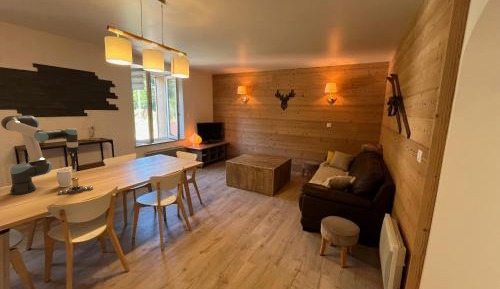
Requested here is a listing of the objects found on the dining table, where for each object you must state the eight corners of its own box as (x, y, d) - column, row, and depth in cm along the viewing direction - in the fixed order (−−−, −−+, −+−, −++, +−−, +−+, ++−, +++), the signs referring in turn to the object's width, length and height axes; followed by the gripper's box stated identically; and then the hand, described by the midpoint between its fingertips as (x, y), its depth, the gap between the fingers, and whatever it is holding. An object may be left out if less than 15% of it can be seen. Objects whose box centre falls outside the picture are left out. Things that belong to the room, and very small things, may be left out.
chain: (58, 192, 186) (58, 189, 185) (92, 187, 200) (92, 184, 200) (58, 195, 178) (57, 192, 178) (92, 190, 193) (92, 187, 192)
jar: (54, 188, 193) (53, 172, 191) (61, 184, 203) (60, 168, 200) (68, 187, 196) (67, 171, 194) (74, 183, 206) (73, 168, 203)
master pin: (72, 190, 190) (71, 177, 188) (79, 189, 193) (78, 177, 191) (72, 192, 186) (71, 179, 184) (79, 191, 189) (78, 178, 187)
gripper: (67, 144, 190) (68, 167, 193) (66, 149, 171) (68, 175, 174) (78, 143, 194) (79, 166, 198) (78, 149, 175) (79, 174, 179)
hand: (74, 170), depth 186 cm, fingers open, 13 cm apart
